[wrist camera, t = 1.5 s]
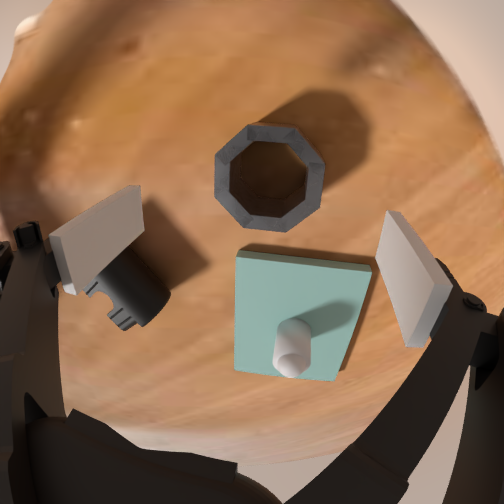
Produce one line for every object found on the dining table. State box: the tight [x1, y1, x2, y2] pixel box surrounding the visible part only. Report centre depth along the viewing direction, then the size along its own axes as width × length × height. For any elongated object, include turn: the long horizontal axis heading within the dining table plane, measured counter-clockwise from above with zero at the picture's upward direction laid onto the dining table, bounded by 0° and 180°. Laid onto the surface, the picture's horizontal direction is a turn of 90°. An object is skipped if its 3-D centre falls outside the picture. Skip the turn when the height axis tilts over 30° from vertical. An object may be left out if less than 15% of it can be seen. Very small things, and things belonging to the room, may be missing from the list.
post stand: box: [234, 250, 372, 381], centre depth 31 cm, size 14×18×8 cm
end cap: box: [83, 246, 171, 331], centre depth 31 cm, size 10×7×7 cm
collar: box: [214, 122, 325, 233], centre depth 24 cm, size 8×8×5 cm
